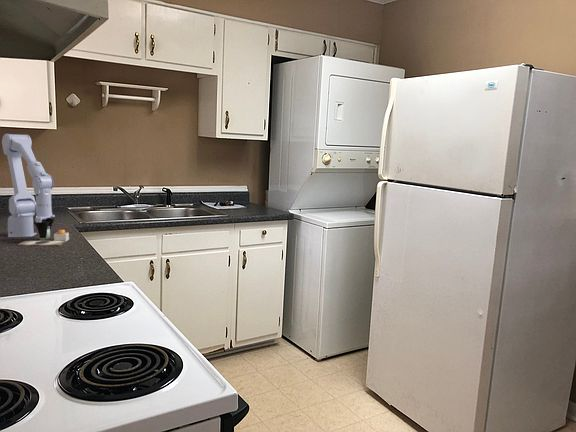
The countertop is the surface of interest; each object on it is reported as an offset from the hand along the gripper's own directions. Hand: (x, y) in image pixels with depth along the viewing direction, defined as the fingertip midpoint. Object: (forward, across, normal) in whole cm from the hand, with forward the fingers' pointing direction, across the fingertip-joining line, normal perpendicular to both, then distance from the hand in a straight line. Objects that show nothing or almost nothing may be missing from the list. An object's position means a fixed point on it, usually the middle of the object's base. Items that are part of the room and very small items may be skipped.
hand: (44, 236), depth 203 cm
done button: (0, 0, -6) cm, 7 cm away
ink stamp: (+2, 0, 0) cm, 2 cm away
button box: (+2, 0, -6) cm, 7 cm away
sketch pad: (+2, -6, -1) cm, 7 cm away
